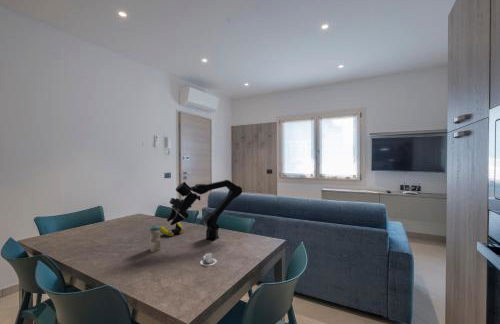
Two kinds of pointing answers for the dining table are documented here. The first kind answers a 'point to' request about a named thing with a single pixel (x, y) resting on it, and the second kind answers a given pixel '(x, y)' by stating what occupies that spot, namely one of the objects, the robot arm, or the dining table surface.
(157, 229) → the birch block
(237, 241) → the dining table surface
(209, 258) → the teacup and saucer
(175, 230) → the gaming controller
